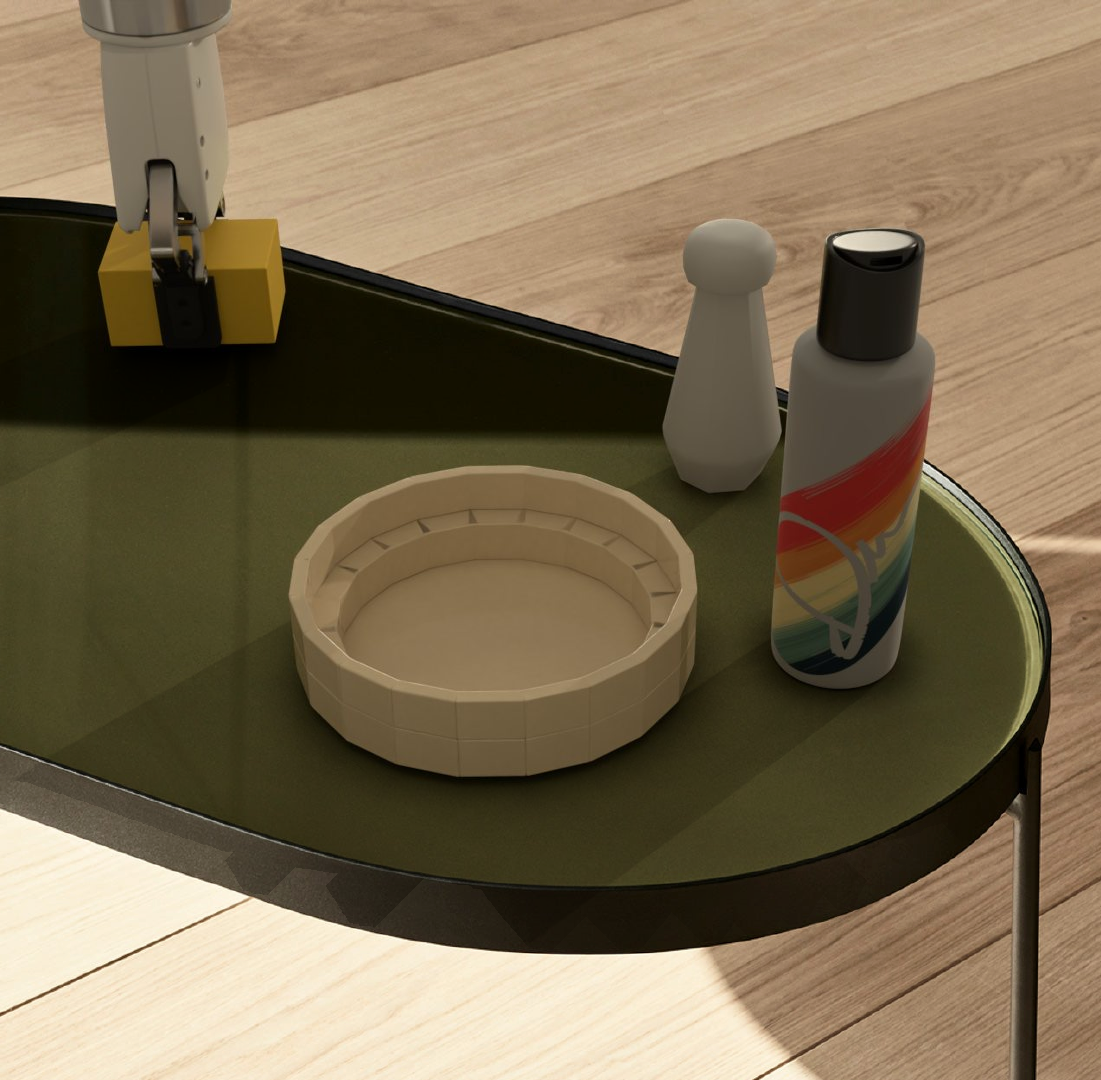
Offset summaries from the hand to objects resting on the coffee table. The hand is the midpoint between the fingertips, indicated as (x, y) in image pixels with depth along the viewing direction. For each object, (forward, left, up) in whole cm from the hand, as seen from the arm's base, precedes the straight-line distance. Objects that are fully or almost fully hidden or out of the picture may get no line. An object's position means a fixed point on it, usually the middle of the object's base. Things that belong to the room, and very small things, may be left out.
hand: (200, 312), depth 111 cm
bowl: (+17, -30, -1) cm, 34 cm away
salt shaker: (+28, -15, -1) cm, 32 cm away
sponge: (0, 0, 0) cm, 0 cm away
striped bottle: (+32, -30, -1) cm, 44 cm away
